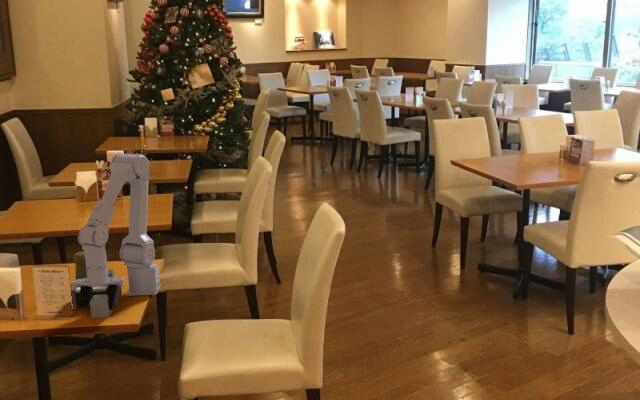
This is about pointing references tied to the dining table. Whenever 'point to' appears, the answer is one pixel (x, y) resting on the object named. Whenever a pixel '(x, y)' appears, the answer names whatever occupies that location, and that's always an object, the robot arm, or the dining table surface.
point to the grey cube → (100, 306)
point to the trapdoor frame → (78, 298)
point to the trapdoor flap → (100, 288)
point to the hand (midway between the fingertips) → (102, 309)
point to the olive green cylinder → (80, 265)
